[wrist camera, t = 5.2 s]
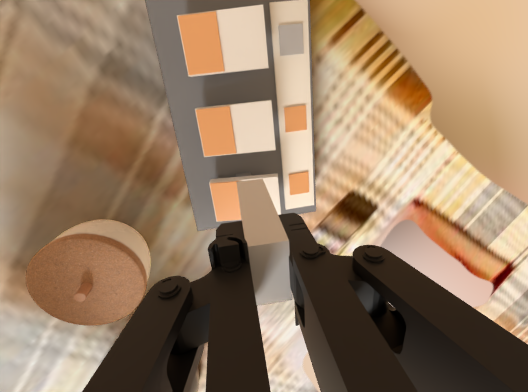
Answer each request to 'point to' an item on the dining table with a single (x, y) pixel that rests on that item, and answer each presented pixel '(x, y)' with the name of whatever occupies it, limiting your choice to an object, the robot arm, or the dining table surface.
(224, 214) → the switch
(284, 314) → the dining table surface
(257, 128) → the switch
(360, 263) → the robot arm
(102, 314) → the lidded jar
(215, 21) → the switch
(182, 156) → the switch unit
